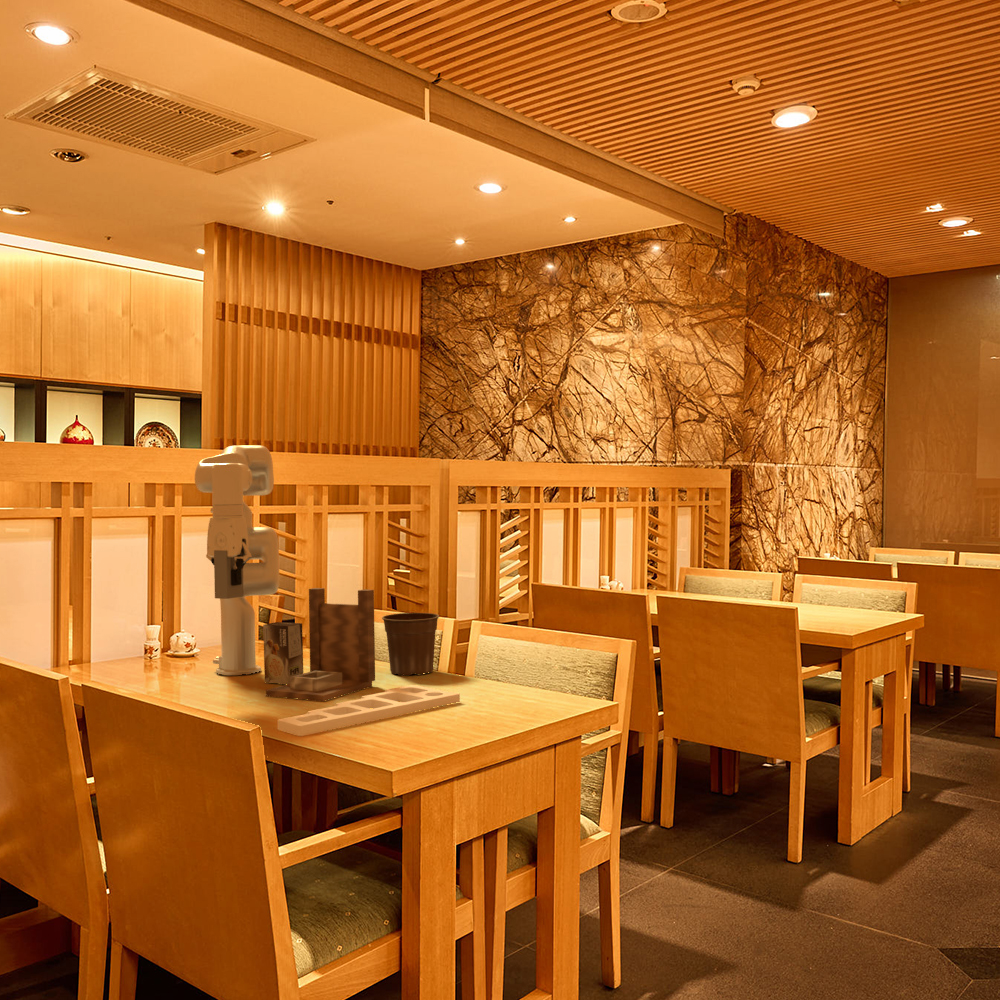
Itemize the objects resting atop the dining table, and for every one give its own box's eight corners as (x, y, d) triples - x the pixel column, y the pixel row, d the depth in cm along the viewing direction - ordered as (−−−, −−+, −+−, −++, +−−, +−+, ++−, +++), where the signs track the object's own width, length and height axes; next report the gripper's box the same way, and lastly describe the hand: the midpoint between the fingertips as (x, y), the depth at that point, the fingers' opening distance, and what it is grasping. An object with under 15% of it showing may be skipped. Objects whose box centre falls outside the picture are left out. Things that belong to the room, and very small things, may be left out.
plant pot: (421, 679, 267) (420, 620, 267) (372, 675, 274) (371, 618, 274) (450, 669, 282) (449, 613, 282) (402, 666, 289) (401, 611, 289)
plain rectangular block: (214, 598, 244) (214, 550, 244) (231, 595, 249) (230, 549, 249) (227, 598, 242) (226, 550, 242) (243, 596, 248) (242, 549, 247)
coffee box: (305, 681, 266) (304, 622, 266) (289, 685, 261) (288, 625, 261) (278, 679, 271) (277, 621, 271) (263, 683, 265) (262, 624, 265)
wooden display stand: (264, 696, 247) (262, 595, 247) (317, 681, 266) (315, 588, 267) (325, 701, 239) (323, 597, 239) (375, 686, 258) (373, 589, 258)
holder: (299, 738, 203) (299, 726, 204) (255, 725, 216) (255, 713, 216) (460, 704, 235) (460, 693, 235) (413, 695, 248) (413, 684, 248)
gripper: (192, 512, 246) (193, 585, 246) (243, 512, 239) (244, 587, 239) (213, 512, 253) (214, 582, 253) (263, 511, 245) (265, 584, 245)
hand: (229, 584), depth 246 cm, fingers closed on plain rectangular block, 4 cm apart
